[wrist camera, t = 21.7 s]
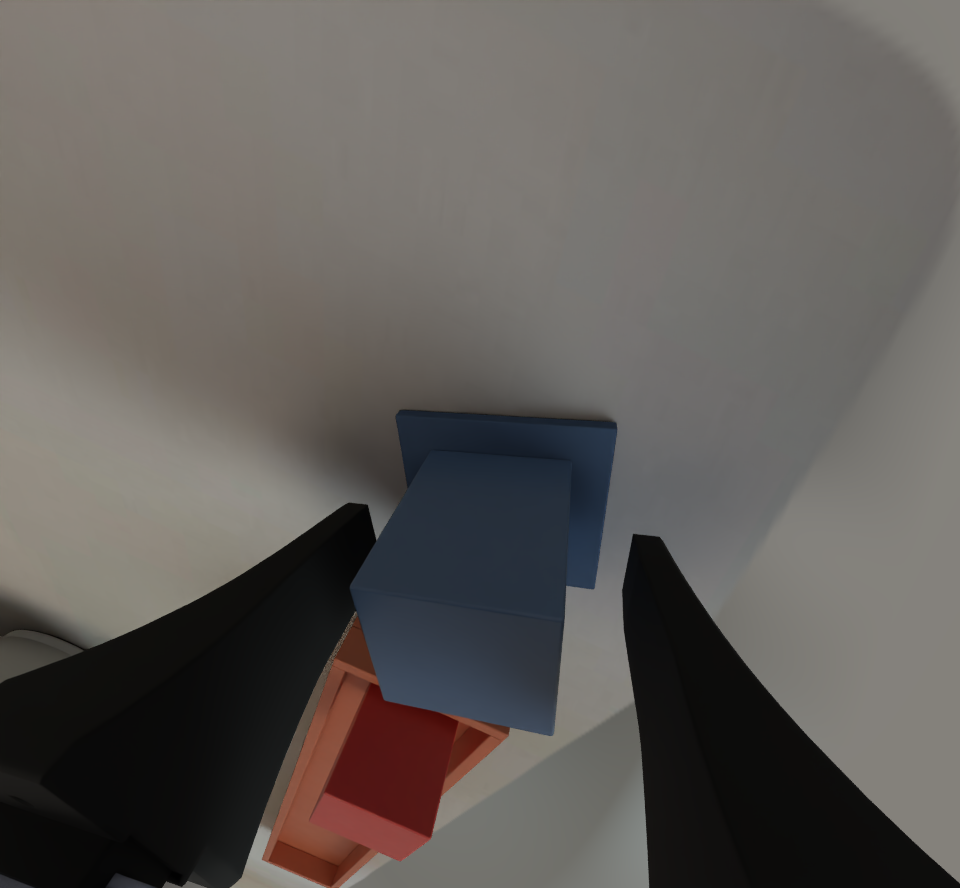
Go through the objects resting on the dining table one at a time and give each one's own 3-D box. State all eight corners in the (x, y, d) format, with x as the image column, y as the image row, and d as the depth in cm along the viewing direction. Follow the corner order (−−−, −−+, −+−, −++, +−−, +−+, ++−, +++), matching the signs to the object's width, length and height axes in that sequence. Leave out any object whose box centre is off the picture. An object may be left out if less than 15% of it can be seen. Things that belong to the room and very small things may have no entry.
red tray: (357, 615, 18) (334, 658, 16) (516, 686, 18) (509, 736, 16) (274, 832, 40) (261, 859, 39) (345, 862, 41) (335, 891, 39)
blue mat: (616, 421, 11) (617, 428, 10) (594, 580, 14) (594, 590, 13) (399, 409, 12) (394, 415, 12) (424, 557, 15) (420, 566, 15)
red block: (383, 654, 18) (323, 793, 14) (466, 691, 18) (431, 839, 14) (364, 692, 20) (307, 822, 16) (438, 725, 20) (400, 862, 16)
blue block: (572, 459, 11) (564, 620, 7) (563, 564, 13) (553, 738, 9) (430, 448, 12) (347, 586, 8) (443, 548, 14) (382, 701, 10)
